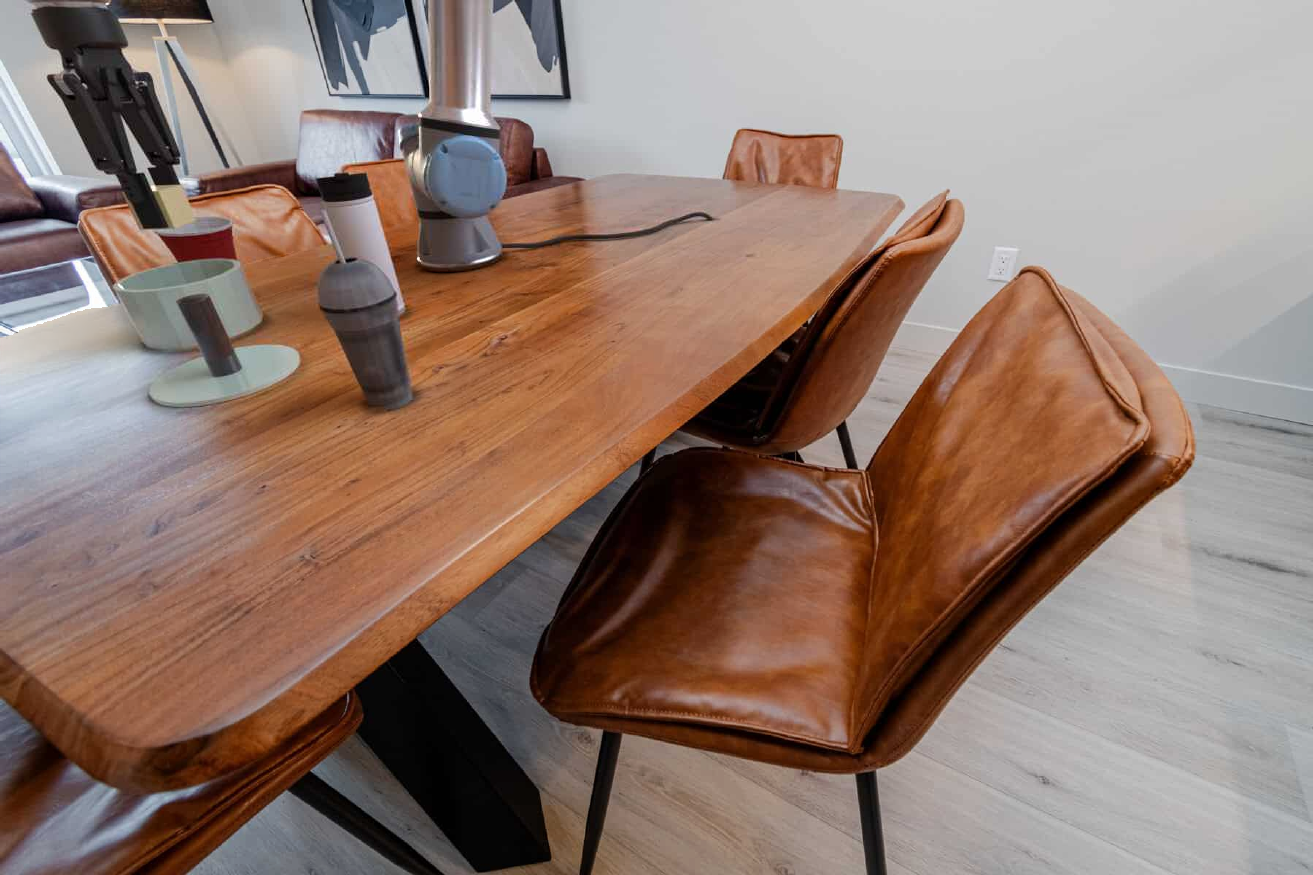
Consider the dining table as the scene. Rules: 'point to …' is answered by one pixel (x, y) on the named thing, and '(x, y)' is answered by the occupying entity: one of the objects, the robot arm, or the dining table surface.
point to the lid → (219, 363)
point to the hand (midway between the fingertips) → (169, 222)
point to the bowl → (161, 287)
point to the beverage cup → (366, 325)
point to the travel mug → (357, 222)
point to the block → (169, 206)
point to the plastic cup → (200, 239)
